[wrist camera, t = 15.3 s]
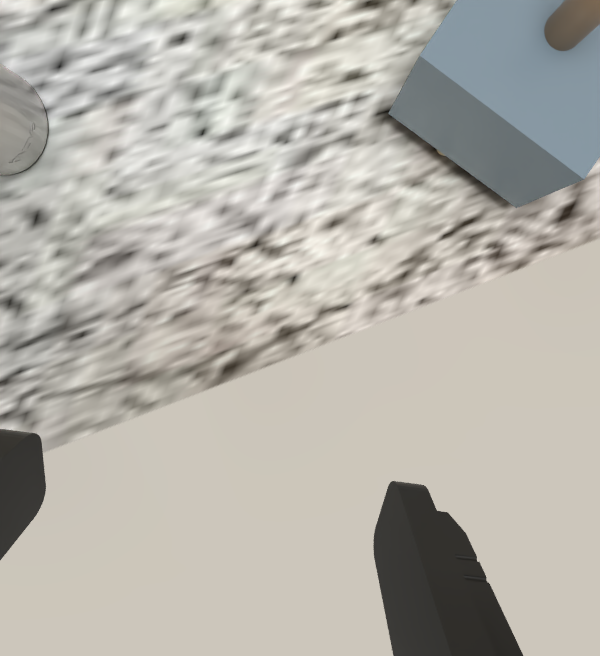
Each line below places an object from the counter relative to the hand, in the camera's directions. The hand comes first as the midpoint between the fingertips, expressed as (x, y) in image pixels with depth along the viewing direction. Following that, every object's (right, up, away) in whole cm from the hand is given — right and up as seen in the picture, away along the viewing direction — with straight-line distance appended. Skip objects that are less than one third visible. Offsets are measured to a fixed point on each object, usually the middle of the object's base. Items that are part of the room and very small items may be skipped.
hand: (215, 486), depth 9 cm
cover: (+19, +24, +24) cm, 39 cm away
